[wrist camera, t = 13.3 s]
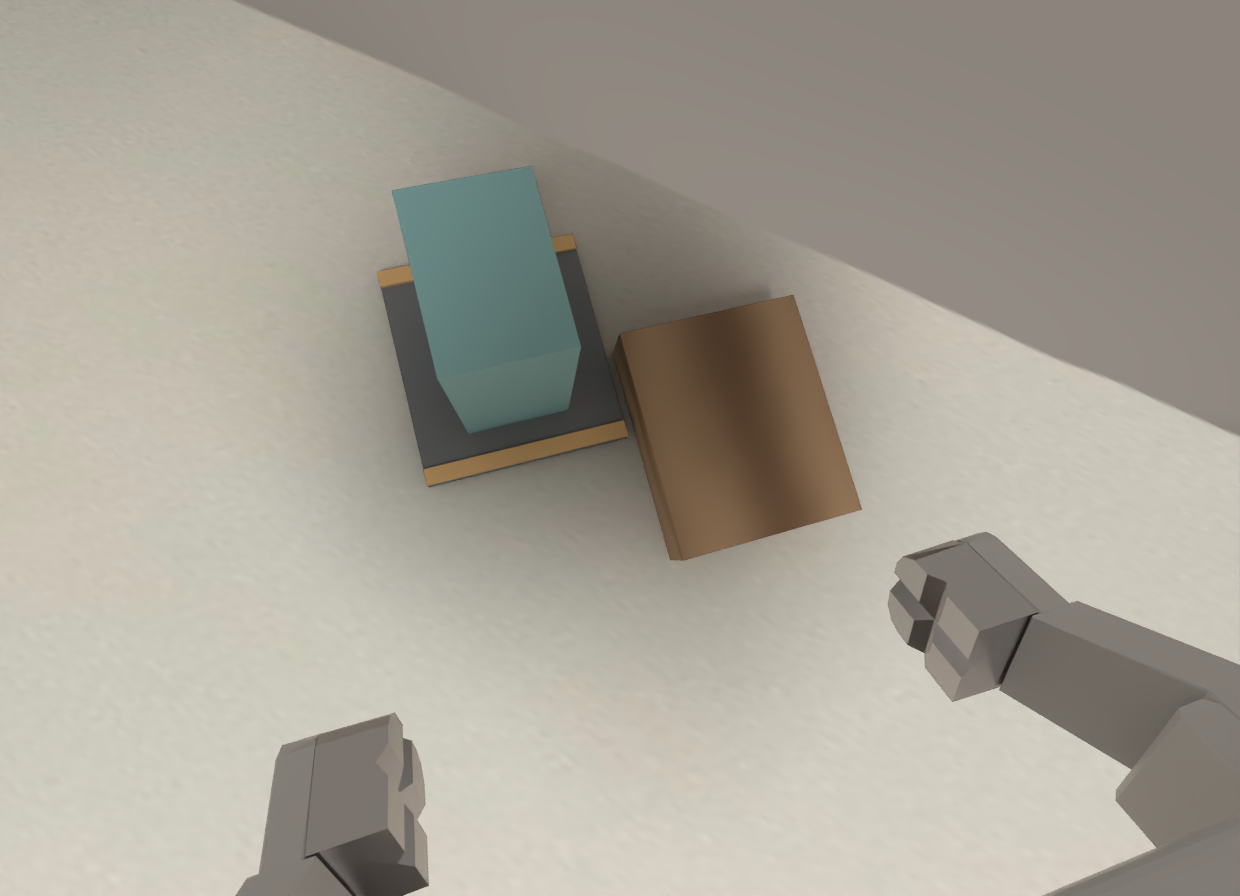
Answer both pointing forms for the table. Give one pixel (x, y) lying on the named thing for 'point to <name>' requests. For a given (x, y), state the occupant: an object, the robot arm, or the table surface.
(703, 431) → the block
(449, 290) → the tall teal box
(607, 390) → the mat
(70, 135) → the table surface
